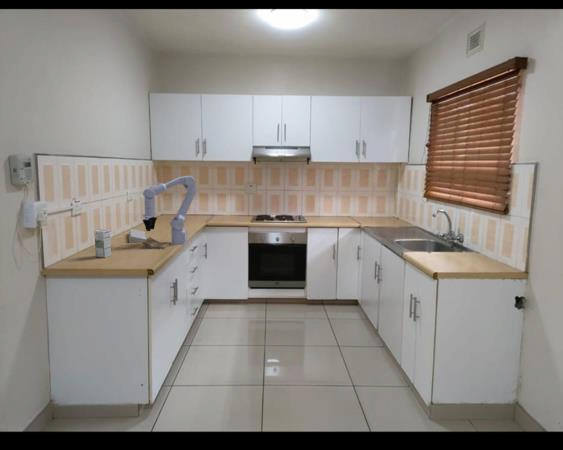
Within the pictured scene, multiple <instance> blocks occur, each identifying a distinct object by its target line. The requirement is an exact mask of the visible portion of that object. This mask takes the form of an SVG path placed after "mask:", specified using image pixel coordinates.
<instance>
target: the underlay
mask: <svg viewBox="0 0 563 450" xmlns="http://www.w3.org/2000/svg"><path fill="white" fill-rule="evenodd" d="M171 245H172V244H170V245H169V246H168V247H166V248H165V249H164V250H166V249H167V248H169V247H170V246H171ZM140 250H155V249H154V248H153V249H152V248H150V247H149V246H147V245H145V246H143V247H141V248H140Z"/></svg>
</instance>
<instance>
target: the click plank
mask: <svg viewBox="0 0 563 450" xmlns="http://www.w3.org/2000/svg"><path fill="white" fill-rule="evenodd" d="M159 243H160V241H158V240H156V239H154V238H152V237H148V238H146V240H144V241H143V242H141V244H143V245H145V246H146V245H147V246H149V247H150V248H152V249H151V250H154V249H153V248H154V246H156V245H157V244H159Z"/></svg>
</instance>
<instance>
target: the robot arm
mask: <svg viewBox="0 0 563 450" xmlns="http://www.w3.org/2000/svg"><path fill="white" fill-rule="evenodd" d="M196 182H197V181H196V180H195V178H194V177H193V176H192V175H183V176H179V177H177V178H174V179H173V180H170V181H168V182H166V183H163V182H161V183H160V182H157V183H156V185H153V186H150V187H149V188H145V189H144V190H143V192H142V195H143V197H144V203H143V204H144V214H143V215H142V217H143V219H142V222H143V224H144V227H145V230H146V232H151V230H154V229H155V225H156V222H157V220H158V217H156V214H155V213H156V212H155V211H156V210H155V196H159V195H161V194H163V193H165V192H166V191H167V189H170V188H172V187H175V186H177V185H183V186H184V188H185V190H186V194H184V195H185V196H184V198H183V200H182V202H181V204H180V207H179V209H178V211H177V213H176V215H175V216H174V217H173V219H171V220H170V222H169V223H170V224H169V225H170V227H171V230H170V231H171V233H170V234H171V242H169V243H170V244H171V245H175V246H176V245H178V246H179V245H183V246H184V245H186V244H187V243H188V233H187V232H188V231H187V230H185V229H184V227H185V220H186V215H187V214H188V211H189V209H190V206H191V204H192V201H193V200H194V197H195V195H196V193H197V188H196V187H197V186H196Z"/></svg>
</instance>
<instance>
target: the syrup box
mask: <svg viewBox="0 0 563 450" xmlns="http://www.w3.org/2000/svg"><path fill="white" fill-rule="evenodd" d="M93 232H94V247H95V258H104V259H105V258H108V257H111V256H112V248H111V247H112V245H111V230H110V229H97V230H94V231H93Z"/></svg>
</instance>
